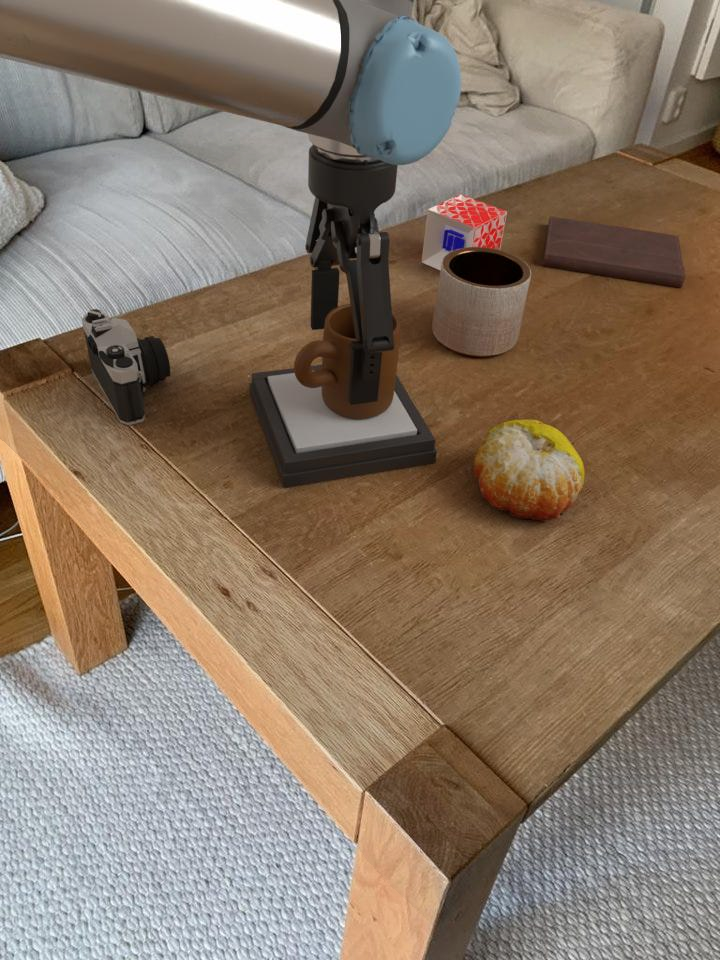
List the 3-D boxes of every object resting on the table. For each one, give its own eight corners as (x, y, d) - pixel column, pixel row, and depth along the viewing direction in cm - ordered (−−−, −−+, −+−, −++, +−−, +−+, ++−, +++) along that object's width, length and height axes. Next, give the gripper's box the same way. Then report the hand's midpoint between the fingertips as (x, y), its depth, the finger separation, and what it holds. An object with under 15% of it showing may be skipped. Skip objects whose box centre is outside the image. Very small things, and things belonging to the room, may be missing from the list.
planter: (413, 330, 103) (421, 260, 97) (472, 306, 109) (483, 238, 103) (476, 370, 97) (489, 298, 91) (534, 341, 103) (551, 272, 97)
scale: (283, 488, 80) (283, 464, 78) (249, 394, 91) (248, 372, 89) (435, 463, 84) (439, 440, 82) (384, 376, 95) (387, 354, 93)
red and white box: (497, 264, 119) (507, 211, 113) (466, 281, 114) (475, 227, 109) (452, 245, 122) (460, 193, 117) (420, 262, 118) (427, 209, 112)
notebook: (548, 224, 130) (550, 212, 129) (675, 244, 127) (679, 232, 126) (542, 266, 119) (545, 254, 118) (681, 289, 116) (685, 276, 115)
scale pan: (296, 460, 80) (296, 448, 79) (267, 387, 89) (267, 376, 88) (416, 441, 84) (417, 429, 83) (376, 373, 92) (377, 362, 91)
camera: (192, 411, 88) (183, 335, 83) (121, 431, 85) (108, 353, 79) (148, 359, 97) (138, 288, 91) (82, 375, 93) (68, 302, 88)
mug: (319, 448, 79) (322, 366, 73) (272, 410, 84) (271, 330, 77) (408, 404, 86) (417, 326, 79) (360, 371, 90) (365, 294, 84)
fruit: (444, 466, 83) (475, 399, 79) (521, 467, 88) (554, 404, 84) (503, 538, 75) (541, 468, 71) (584, 534, 81) (623, 469, 77)
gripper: (453, 204, 60) (421, 431, 74) (352, 97, 78) (342, 297, 92) (356, 211, 58) (342, 443, 72) (275, 100, 76) (276, 304, 90)
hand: (342, 362), depth 82 cm, fingers open, 13 cm apart
